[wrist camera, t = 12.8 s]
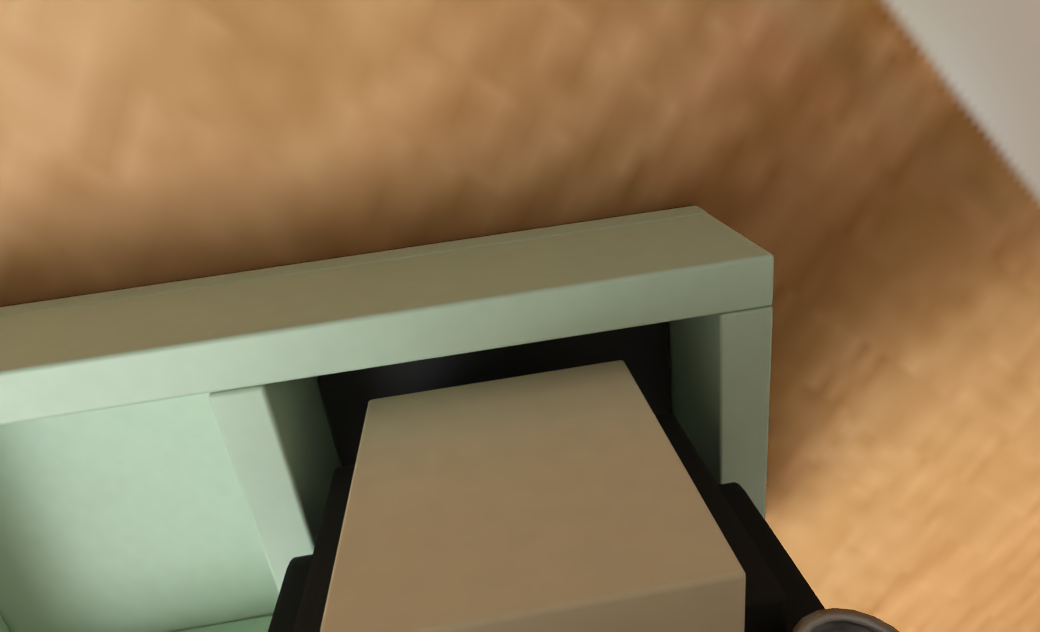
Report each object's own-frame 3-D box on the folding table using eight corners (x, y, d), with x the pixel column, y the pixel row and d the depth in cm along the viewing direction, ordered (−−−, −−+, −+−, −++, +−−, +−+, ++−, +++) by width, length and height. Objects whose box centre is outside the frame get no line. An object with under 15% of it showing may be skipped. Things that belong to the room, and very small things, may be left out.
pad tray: (-179, 332, 11) (-395, 431, 8) (696, 204, 12) (776, 254, 9) (22, 663, 14) (-84, 817, 11) (701, 545, 15) (760, 662, 12)
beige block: (623, 357, 10) (749, 574, 6) (638, 594, 12) (740, 881, 8) (367, 398, 10) (311, 651, 6) (425, 633, 12) (415, 948, 8)
